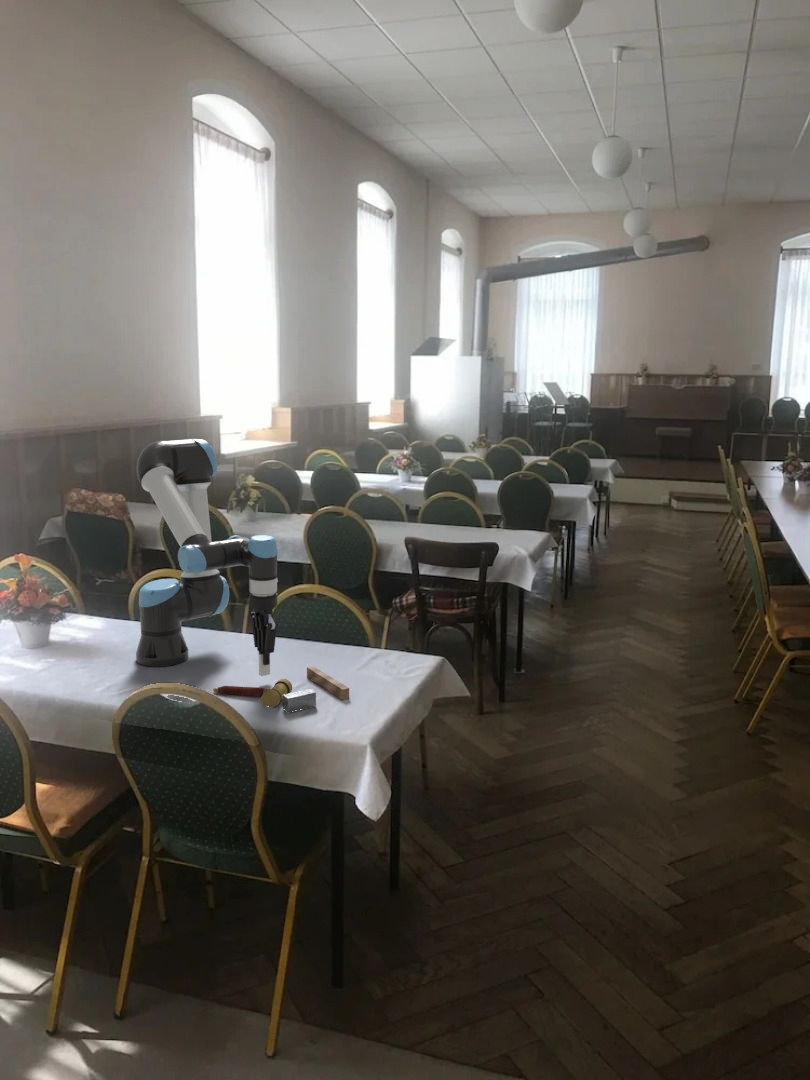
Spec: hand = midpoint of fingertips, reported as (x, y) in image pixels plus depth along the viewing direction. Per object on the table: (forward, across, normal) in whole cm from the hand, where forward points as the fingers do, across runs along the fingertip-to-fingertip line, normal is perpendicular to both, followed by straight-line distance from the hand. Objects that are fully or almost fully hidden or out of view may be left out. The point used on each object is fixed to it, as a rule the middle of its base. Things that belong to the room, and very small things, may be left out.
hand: (264, 674), depth 237 cm
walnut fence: (+2, -12, -13) cm, 18 cm away
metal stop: (+2, -21, 0) cm, 21 cm away
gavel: (+3, -7, +8) cm, 11 cm away
